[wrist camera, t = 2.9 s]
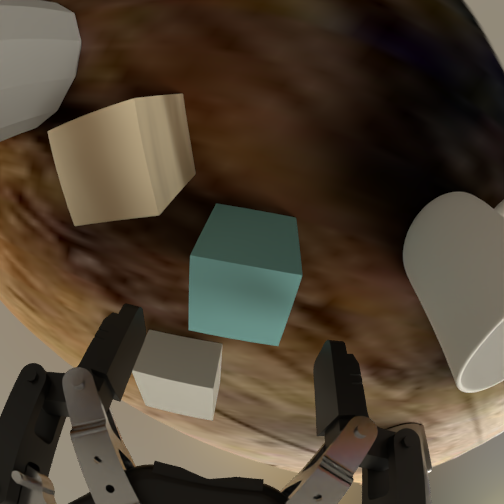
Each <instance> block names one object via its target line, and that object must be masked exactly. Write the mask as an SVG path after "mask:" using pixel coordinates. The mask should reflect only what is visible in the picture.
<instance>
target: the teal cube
mask: <svg viewBox="0 0 504 504" xmlns="http://www.w3.org/2000/svg"><path fill="white" fill-rule="evenodd" d="M301 278H302V267H301V257H300V247H299V238H298V230H297V221H296V218H295V217H290V216H285V215H280V214H274V213H269V212H264V211H258V210H252V209H247V208H241V207H235V206H229V205H223V204H217V203H216V205H215V207H214V209H213V211H212V213H211V215H210V217H209V218H208V220H207V222H206V224H205V226H204V228H203V230H202V232H201V234H200V236H199V238H198V240H197V242H196V244H195V246H194V248H193V250H192V252H191V254H190V273H189V330H191V331H196V332H200V333H205V334H210V335H215V336H221V337H226V338H231V339H237V340H243V341H249V342H255V343H261V344H268V345H275V346H278V345H279V342H280V339H281V337H282V334H283V331H284V328H285V325H286V323H287V320H288V317H289V314H290V311H291V308H292V305H293V302H294V299H295V296H296V293H297V290H298V287H299V284H300V281H301Z"/></svg>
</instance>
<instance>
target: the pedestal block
mask: <svg viewBox="0 0 504 504" xmlns="http://www.w3.org/2000/svg"><path fill="white" fill-rule="evenodd" d="M221 359H222V344H221V343H215V342H209V341H203V340H198V339H193V338H187V337H182V336H177V335H172V334H168V333H163V332H158V331H154V330H150V329H149V331H148V333H147V335H146V337H145V341H144V343H143V346H142V348H141V351H140V353H139V355H138V358H137V360H136V363H135V365H134V368H133V370H132V373H133V375H134V378H135V381H136V383H137V386H138V388H139V391H140V393H141V395H142V398H143V400H144V402H145V405H146V406H149V407H153V408H157V409H161V410H165V411H169V412H173V413H177V414H181V415H186V416H191V417H196V418H201V419H206V420H212V421H213V417H214V412H215V406H216V401H217V396H218V390H219V385H220V375H221Z"/></svg>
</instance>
